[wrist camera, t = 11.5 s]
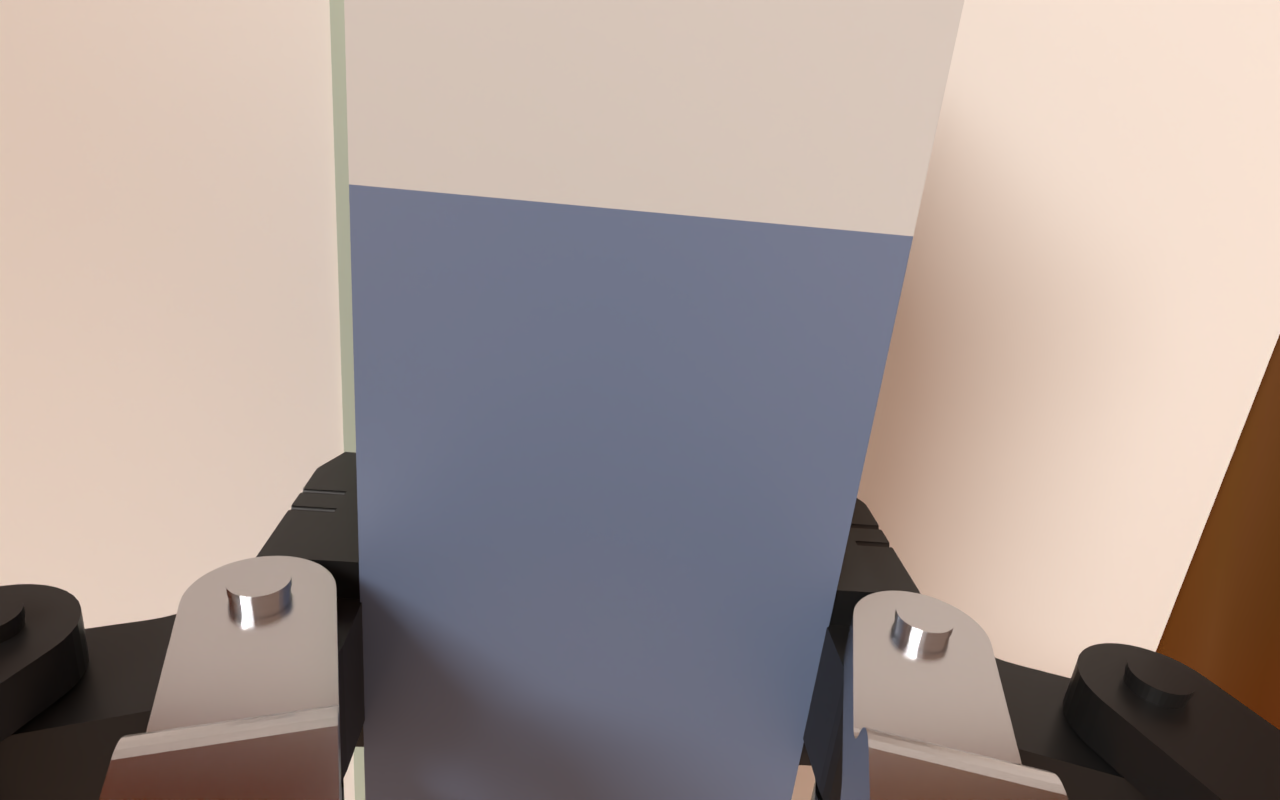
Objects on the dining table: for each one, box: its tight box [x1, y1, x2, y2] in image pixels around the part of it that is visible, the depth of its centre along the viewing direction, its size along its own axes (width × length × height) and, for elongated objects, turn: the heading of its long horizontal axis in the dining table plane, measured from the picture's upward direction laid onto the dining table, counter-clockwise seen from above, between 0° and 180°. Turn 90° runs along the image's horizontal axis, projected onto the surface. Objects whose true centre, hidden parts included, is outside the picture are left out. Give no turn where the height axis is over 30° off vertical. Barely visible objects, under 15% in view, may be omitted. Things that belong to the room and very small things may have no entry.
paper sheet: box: [0, 0, 1280, 800], centre depth 14 cm, size 22×18×1 cm
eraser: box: [344, 0, 964, 800], centre depth 10 cm, size 4×15×4 cm, turn 174°
